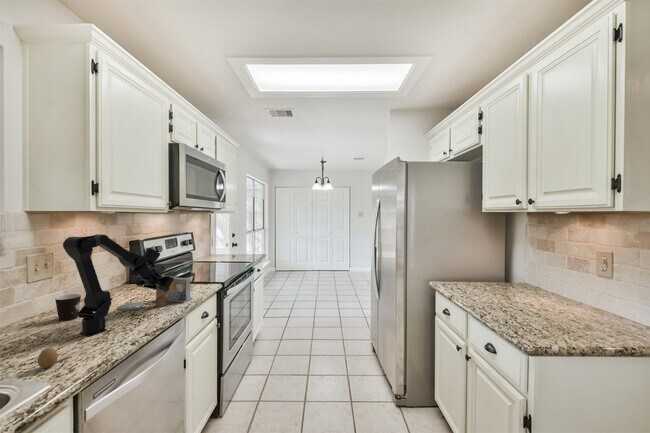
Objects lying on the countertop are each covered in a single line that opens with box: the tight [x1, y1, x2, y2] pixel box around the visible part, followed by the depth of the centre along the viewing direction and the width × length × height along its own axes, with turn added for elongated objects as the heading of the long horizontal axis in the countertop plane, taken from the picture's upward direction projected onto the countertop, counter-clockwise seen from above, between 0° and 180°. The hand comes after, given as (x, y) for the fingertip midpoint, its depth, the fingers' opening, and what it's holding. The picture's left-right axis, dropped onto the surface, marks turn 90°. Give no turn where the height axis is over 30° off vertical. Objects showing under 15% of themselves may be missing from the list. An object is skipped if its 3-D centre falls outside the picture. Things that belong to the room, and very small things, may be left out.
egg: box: [37, 347, 59, 369], centre depth 88 cm, size 4×4×6 cm
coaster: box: [117, 301, 145, 312], centre depth 144 cm, size 11×11×1 cm
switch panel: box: [168, 276, 193, 304], centre depth 155 cm, size 6×16×12 cm, turn 76°
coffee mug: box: [54, 293, 82, 322], centre depth 129 cm, size 12×9×10 cm
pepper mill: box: [155, 274, 169, 308], centre depth 146 cm, size 5×5×16 cm
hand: (164, 289), depth 147 cm, fingers closed on pepper mill, 5 cm apart
